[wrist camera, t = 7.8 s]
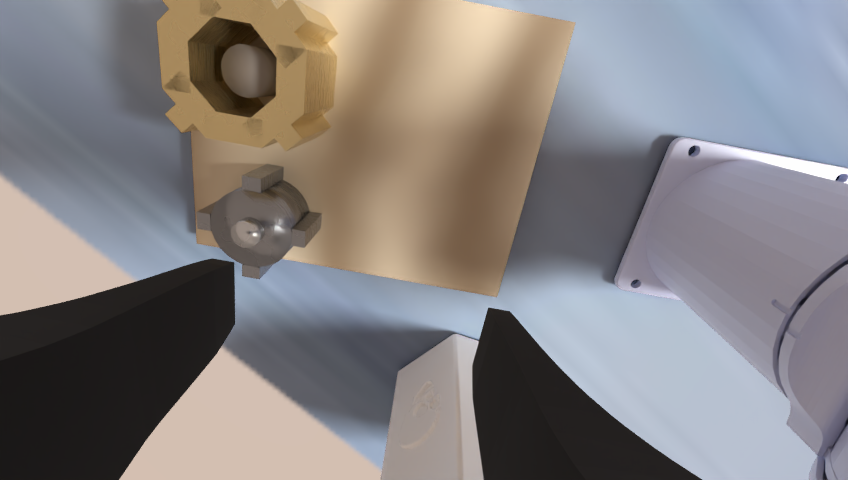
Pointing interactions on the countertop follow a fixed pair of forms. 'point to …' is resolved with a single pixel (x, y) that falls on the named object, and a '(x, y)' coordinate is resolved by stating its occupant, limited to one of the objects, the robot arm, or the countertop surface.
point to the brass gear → (242, 24)
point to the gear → (260, 220)
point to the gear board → (408, 138)
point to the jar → (435, 417)
